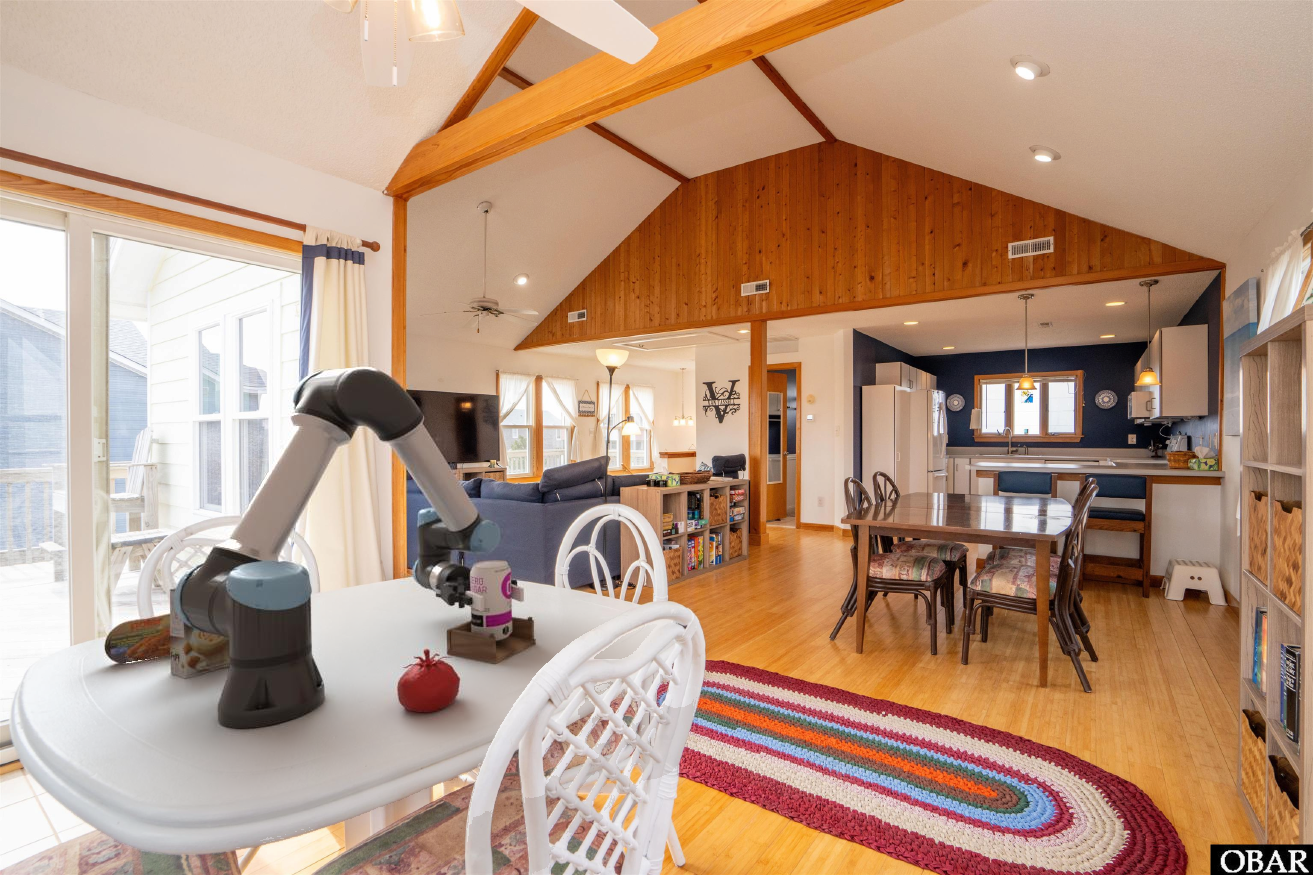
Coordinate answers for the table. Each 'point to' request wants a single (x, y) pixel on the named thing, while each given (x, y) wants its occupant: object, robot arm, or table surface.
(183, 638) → the coffee box
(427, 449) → the robot arm
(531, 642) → the tray
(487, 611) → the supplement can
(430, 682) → the red tomato
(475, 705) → the table surface
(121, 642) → the tin
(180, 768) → the table surface
